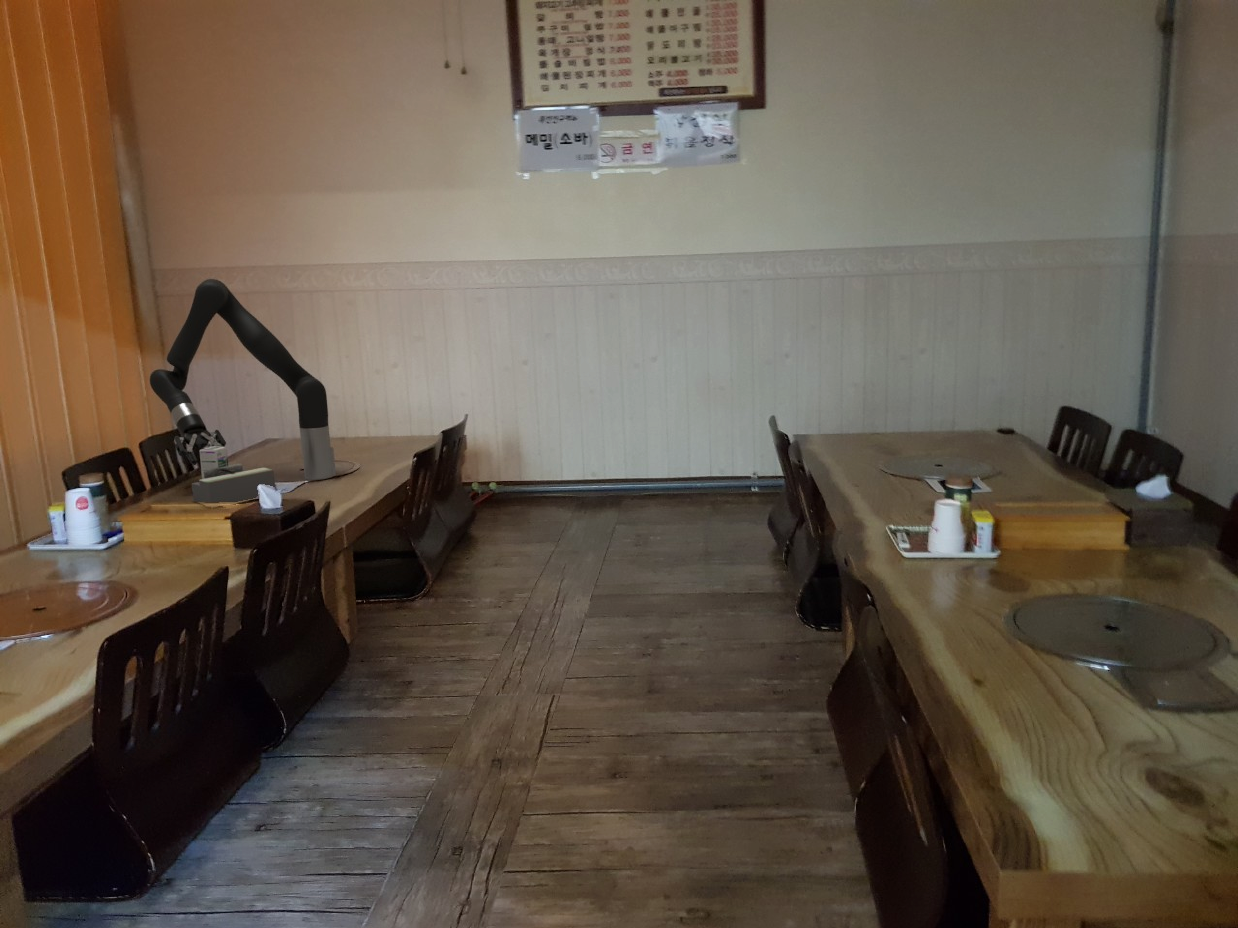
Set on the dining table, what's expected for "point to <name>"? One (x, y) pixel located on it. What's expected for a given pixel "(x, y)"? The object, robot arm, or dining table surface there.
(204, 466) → the syrup box
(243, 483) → the block
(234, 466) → the gauge pad
